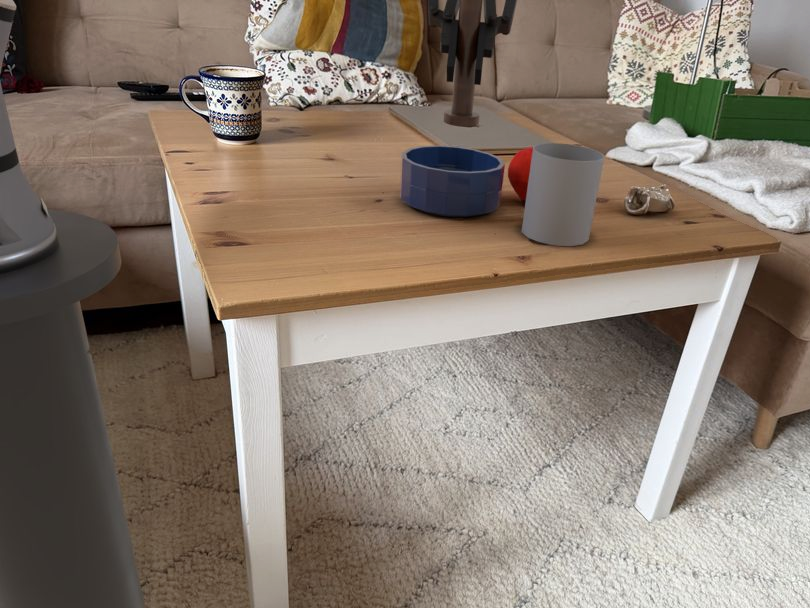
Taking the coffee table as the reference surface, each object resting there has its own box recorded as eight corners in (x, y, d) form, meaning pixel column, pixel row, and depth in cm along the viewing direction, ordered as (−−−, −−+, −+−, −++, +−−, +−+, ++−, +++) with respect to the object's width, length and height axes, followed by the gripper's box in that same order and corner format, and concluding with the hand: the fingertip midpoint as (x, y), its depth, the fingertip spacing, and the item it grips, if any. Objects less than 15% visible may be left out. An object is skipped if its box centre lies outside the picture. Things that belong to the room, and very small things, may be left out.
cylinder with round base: (445, 125, 82) (456, -24, 74) (441, 118, 86) (451, -25, 78) (480, 127, 83) (495, -20, 75) (475, 120, 86) (488, -21, 79)
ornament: (647, 200, 99) (653, 176, 97) (682, 215, 94) (689, 190, 93) (607, 205, 95) (612, 179, 94) (641, 221, 90) (647, 194, 89)
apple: (500, 190, 97) (506, 138, 93) (553, 193, 98) (561, 142, 94) (508, 208, 90) (515, 152, 86) (565, 211, 91) (575, 156, 87)
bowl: (402, 217, 83) (404, 169, 80) (397, 186, 94) (399, 142, 91) (507, 222, 85) (513, 175, 82) (489, 191, 96) (494, 148, 93)
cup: (548, 249, 78) (562, 163, 73) (508, 226, 84) (518, 144, 79) (602, 241, 82) (619, 159, 77) (560, 219, 88) (573, 141, 83)
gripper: (538, -53, 88) (526, 102, 82) (419, -65, 88) (398, 89, 81) (547, -106, 80) (535, 60, 74) (417, -119, 80) (394, 46, 74)
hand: (464, 75), depth 78 cm, fingers closed on cylinder with round base, 3 cm apart
